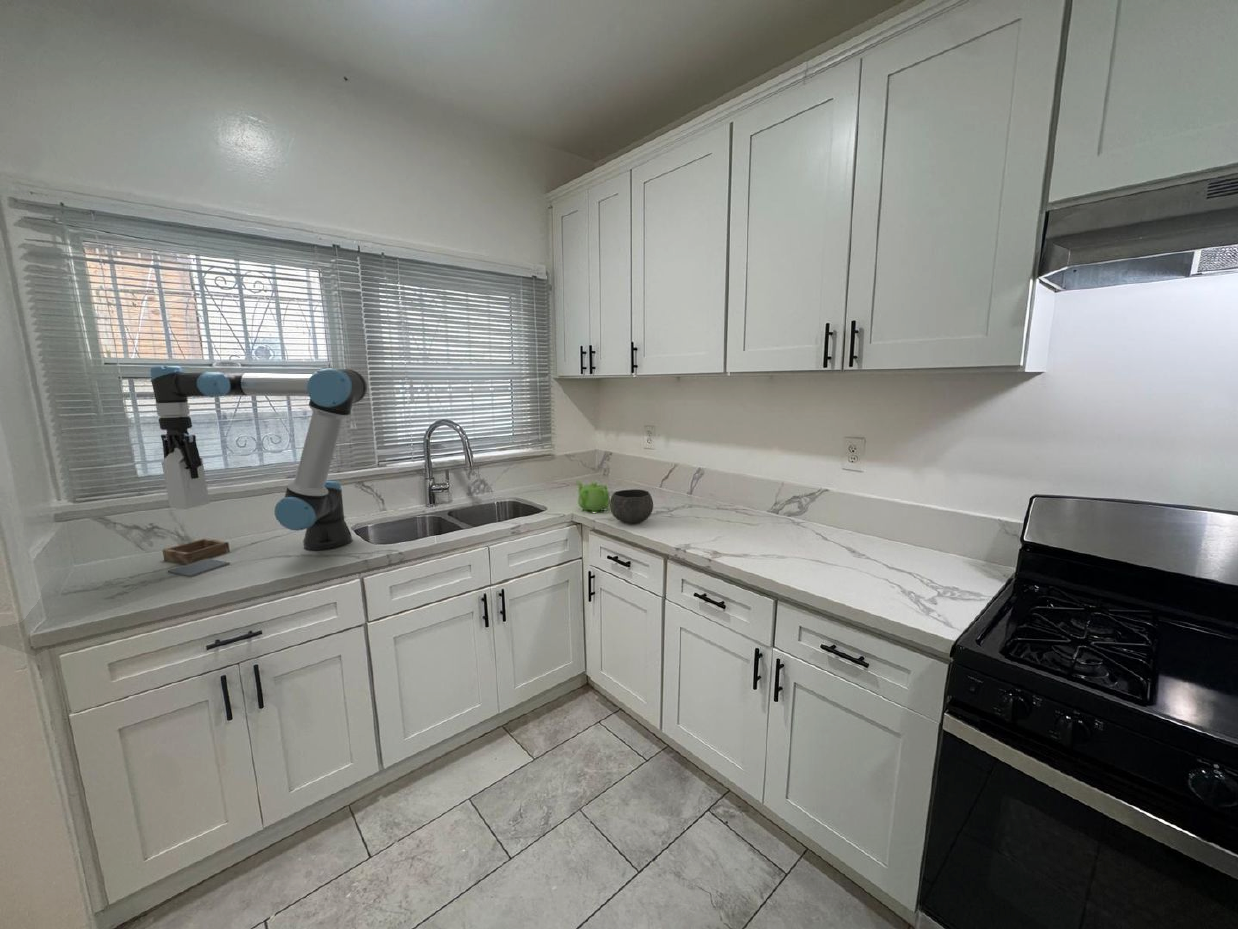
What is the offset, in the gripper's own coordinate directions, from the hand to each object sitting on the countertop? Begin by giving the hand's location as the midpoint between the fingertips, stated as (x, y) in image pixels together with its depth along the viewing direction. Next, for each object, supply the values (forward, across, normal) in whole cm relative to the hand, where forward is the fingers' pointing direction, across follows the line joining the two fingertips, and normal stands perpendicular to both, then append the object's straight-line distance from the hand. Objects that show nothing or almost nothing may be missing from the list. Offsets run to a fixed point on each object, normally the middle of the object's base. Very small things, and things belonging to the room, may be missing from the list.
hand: (187, 487), depth 156 cm
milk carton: (+6, 0, 0) cm, 6 cm away
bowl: (+27, -118, -92) cm, 152 cm away
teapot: (+27, -94, -104) cm, 143 cm away
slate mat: (+25, -7, +4) cm, 26 cm away
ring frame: (+25, +6, -2) cm, 26 cm away
